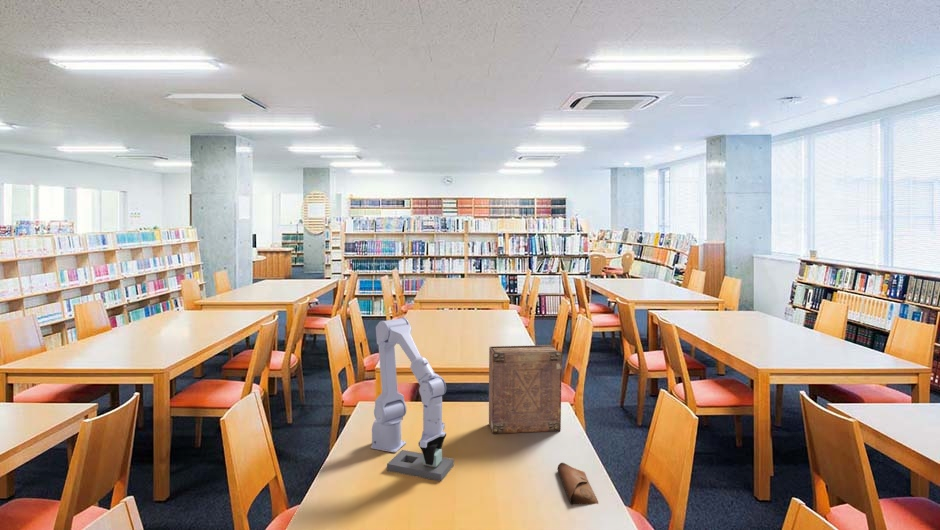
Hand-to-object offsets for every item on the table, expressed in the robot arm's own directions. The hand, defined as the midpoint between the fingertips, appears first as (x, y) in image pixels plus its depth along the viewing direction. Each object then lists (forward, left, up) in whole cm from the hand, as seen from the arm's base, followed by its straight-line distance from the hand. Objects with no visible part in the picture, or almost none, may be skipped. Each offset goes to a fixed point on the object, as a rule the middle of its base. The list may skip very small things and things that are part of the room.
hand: (432, 460), depth 150 cm
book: (+19, +41, -3) cm, 45 cm away
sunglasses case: (+43, +6, -4) cm, 44 cm away
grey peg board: (-4, 0, -3) cm, 5 cm away
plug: (0, 0, -3) cm, 3 cm away
